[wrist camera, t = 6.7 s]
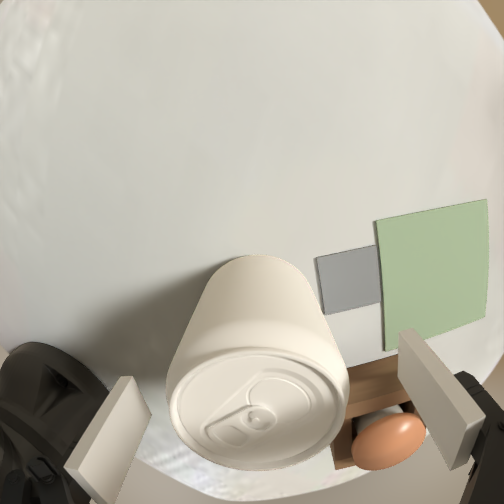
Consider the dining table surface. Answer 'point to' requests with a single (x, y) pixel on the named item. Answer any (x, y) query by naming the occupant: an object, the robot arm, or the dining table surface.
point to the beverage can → (257, 370)
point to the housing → (369, 402)
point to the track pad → (349, 279)
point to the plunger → (386, 438)
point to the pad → (434, 269)
